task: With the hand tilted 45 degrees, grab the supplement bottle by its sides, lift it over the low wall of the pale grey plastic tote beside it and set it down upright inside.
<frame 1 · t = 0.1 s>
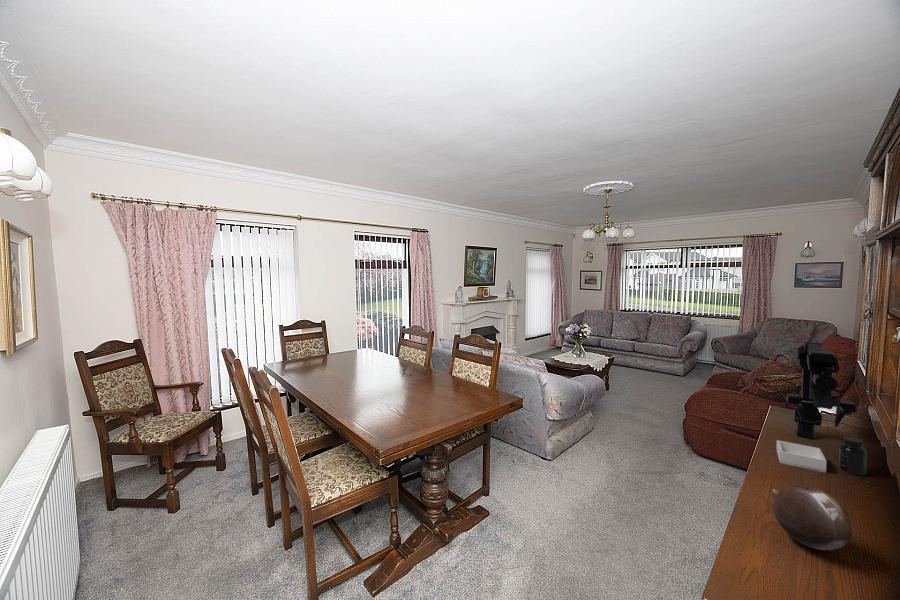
hand: (818, 424, 141), 15 cm above the sideboard, tool pointing down, fingers open, 9 cm apart
decorative ornament: (786, 506, 114), on the sideboard
supplement bottle: (851, 471, 133), on the sideboard
tote: (799, 461, 141), on the sideboard
dark glossy egg: (809, 543, 98), on the sideboard
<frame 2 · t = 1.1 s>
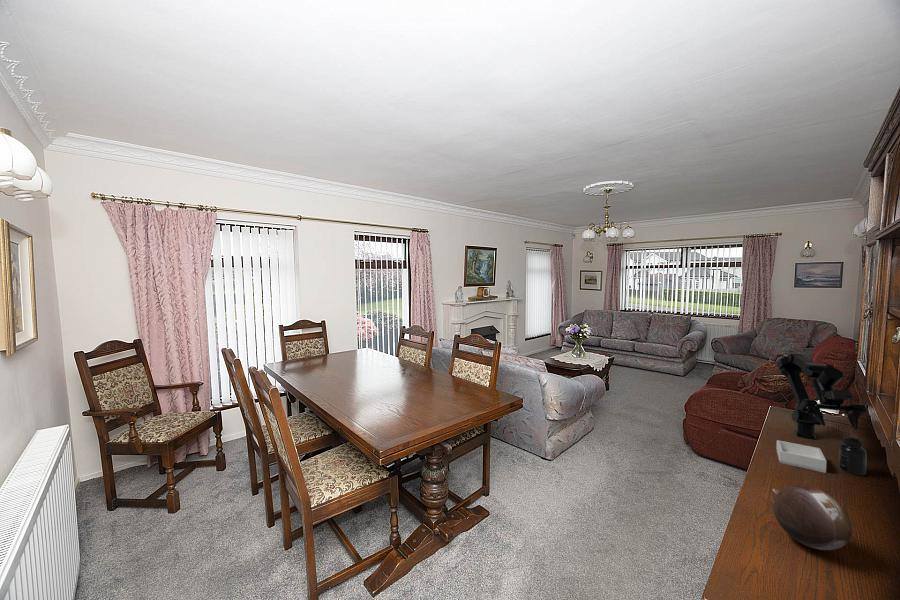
hand: (840, 427, 140), 13 cm above the sideboard, tool tilted 45°, fingers open, 9 cm apart
nothing on the sideboard moved.
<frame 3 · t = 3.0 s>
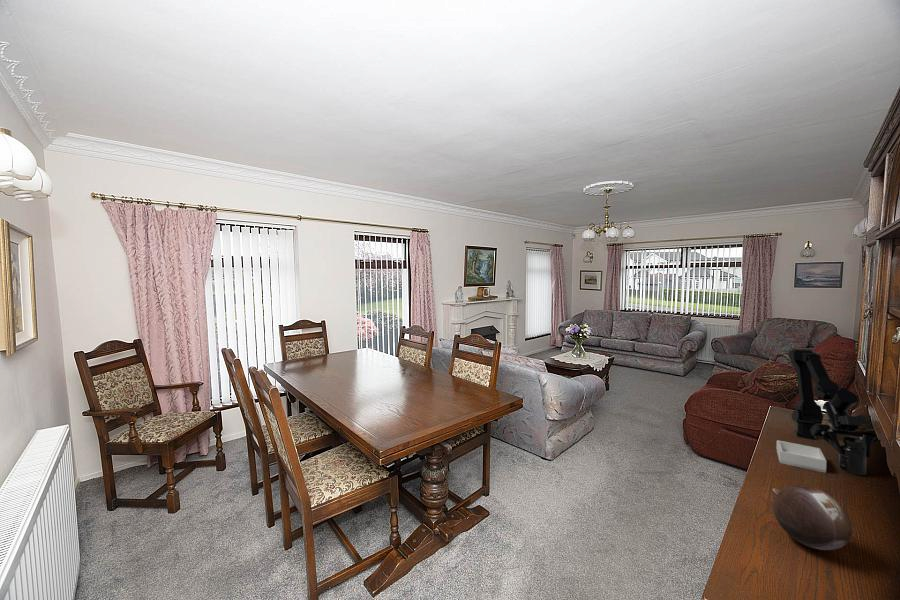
hand: (855, 455, 132), 7 cm above the sideboard, tool tilted 45°, fingers closed on supplement bottle, 7 cm apart
supplement bottle: (851, 471, 133), on the sideboard, touching gripper
everything else where it was.
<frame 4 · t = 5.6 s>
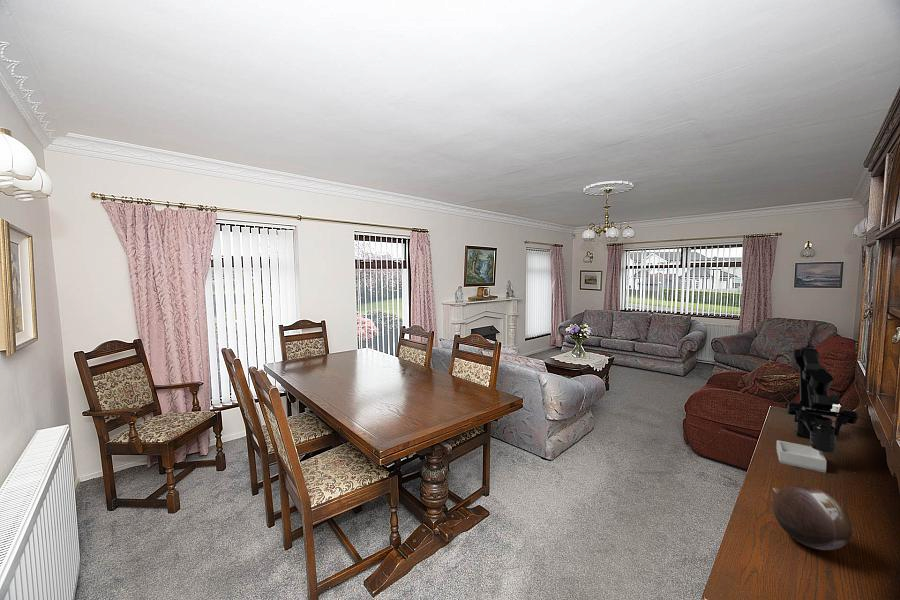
hand: (823, 433, 136), 13 cm above the sideboard, tool tilted 45°, fingers closed on supplement bottle, 7 cm apart
supplement bottle: (822, 449, 137), point 6 cm above the sideboard, touching gripper
everything else where it was.
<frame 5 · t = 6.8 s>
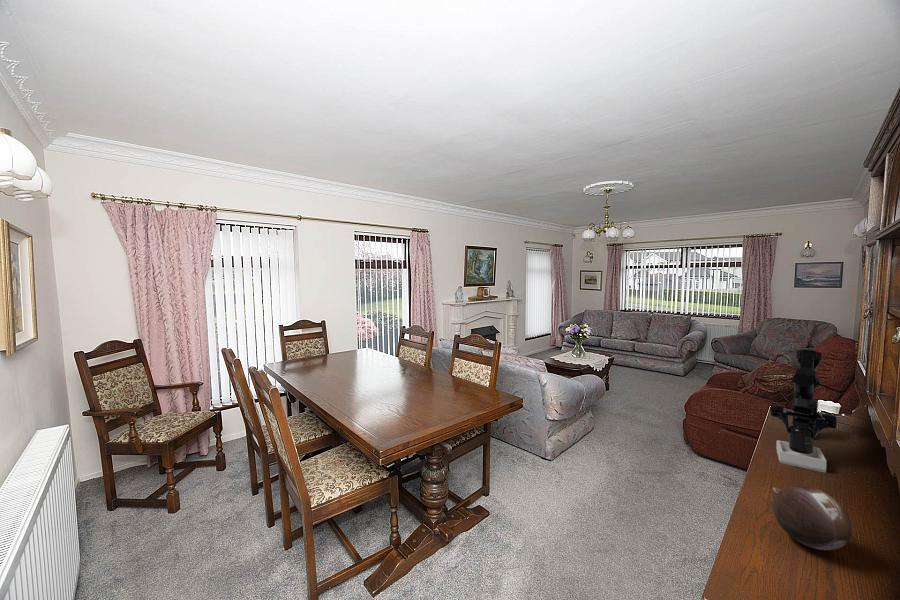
hand: (800, 435, 140), 11 cm above the sideboard, tool tilted 45°, fingers closed on supplement bottle, 7 cm apart
supplement bottle: (800, 451, 141), point 4 cm above the sideboard, touching gripper
when the fingers open (9 cm above the sideboard, at t = 7.7 s): supplement bottle drops 1 cm, resting on tote.
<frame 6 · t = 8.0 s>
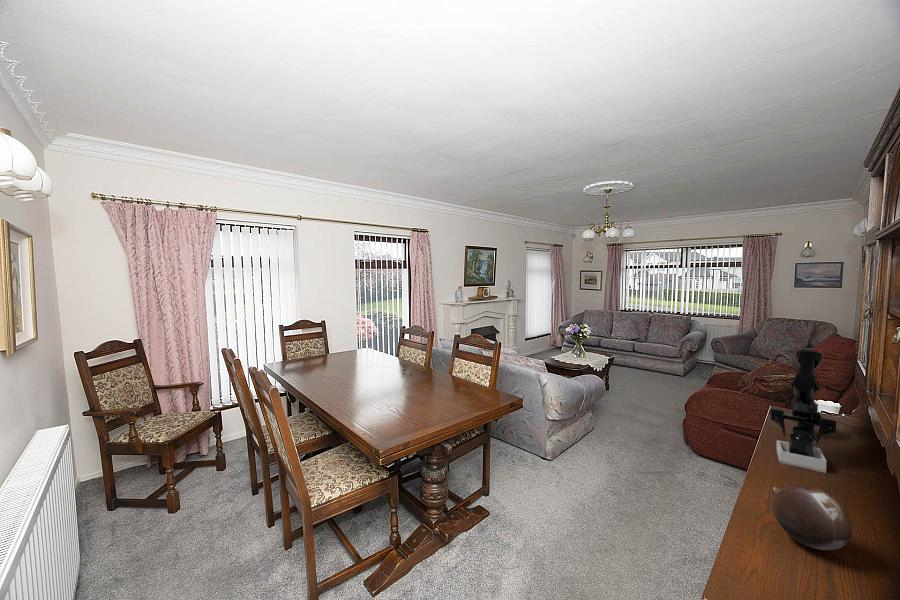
hand: (800, 439, 140), 9 cm above the sideboard, tool tilted 45°, fingers open, 9 cm apart
supplement bottle: (800, 458, 141), point 1 cm above the sideboard, touching tote
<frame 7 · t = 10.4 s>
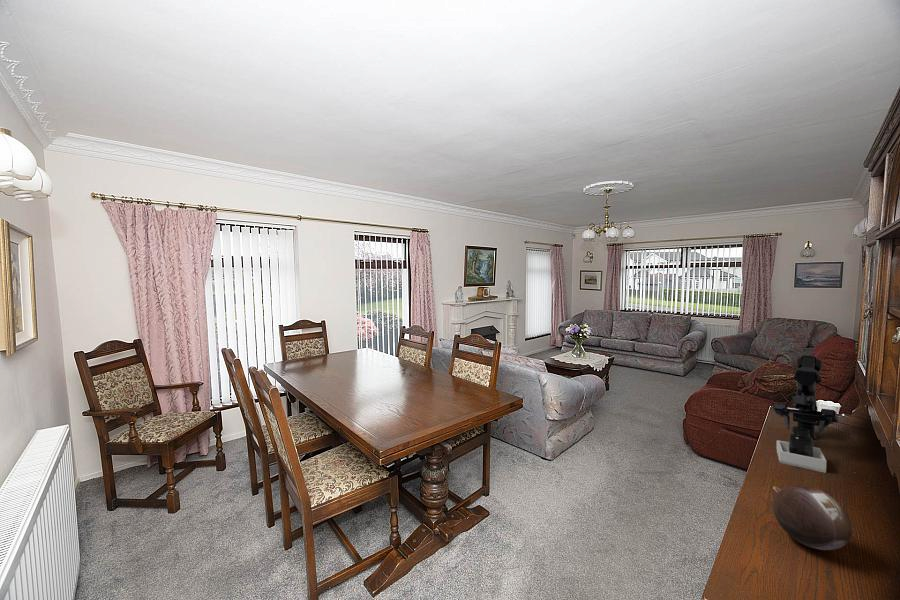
hand: (803, 431, 146), 9 cm above the sideboard, tool tilted 40°, fingers open, 9 cm apart
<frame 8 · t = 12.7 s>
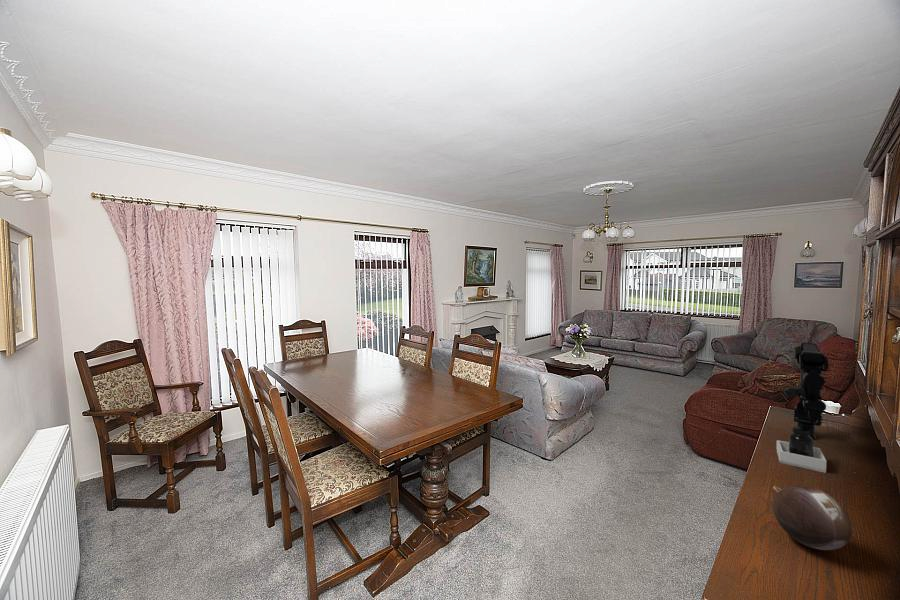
hand: (810, 419, 150), 13 cm above the sideboard, tool pointing down, fingers open, 9 cm apart
at the end: supplement bottle inside the target area on the tote (0.3 cm from its centre), point 0.8 cm above the tote's base; supplement bottle tilted 0°; the gripper is holding nothing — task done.
